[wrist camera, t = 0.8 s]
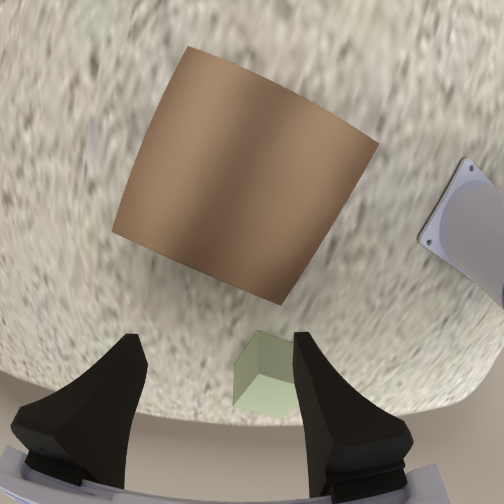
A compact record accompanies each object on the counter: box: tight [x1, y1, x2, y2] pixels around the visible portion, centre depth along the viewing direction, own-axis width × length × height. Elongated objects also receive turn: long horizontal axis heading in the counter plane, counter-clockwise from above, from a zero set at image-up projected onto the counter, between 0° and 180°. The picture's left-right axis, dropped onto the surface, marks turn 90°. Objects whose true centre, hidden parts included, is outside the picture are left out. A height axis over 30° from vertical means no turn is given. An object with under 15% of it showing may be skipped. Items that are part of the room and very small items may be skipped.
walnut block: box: [112, 46, 379, 306], centre depth 18 cm, size 12×12×3 cm
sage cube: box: [233, 330, 298, 419], centre depth 24 cm, size 4×4×5 cm
